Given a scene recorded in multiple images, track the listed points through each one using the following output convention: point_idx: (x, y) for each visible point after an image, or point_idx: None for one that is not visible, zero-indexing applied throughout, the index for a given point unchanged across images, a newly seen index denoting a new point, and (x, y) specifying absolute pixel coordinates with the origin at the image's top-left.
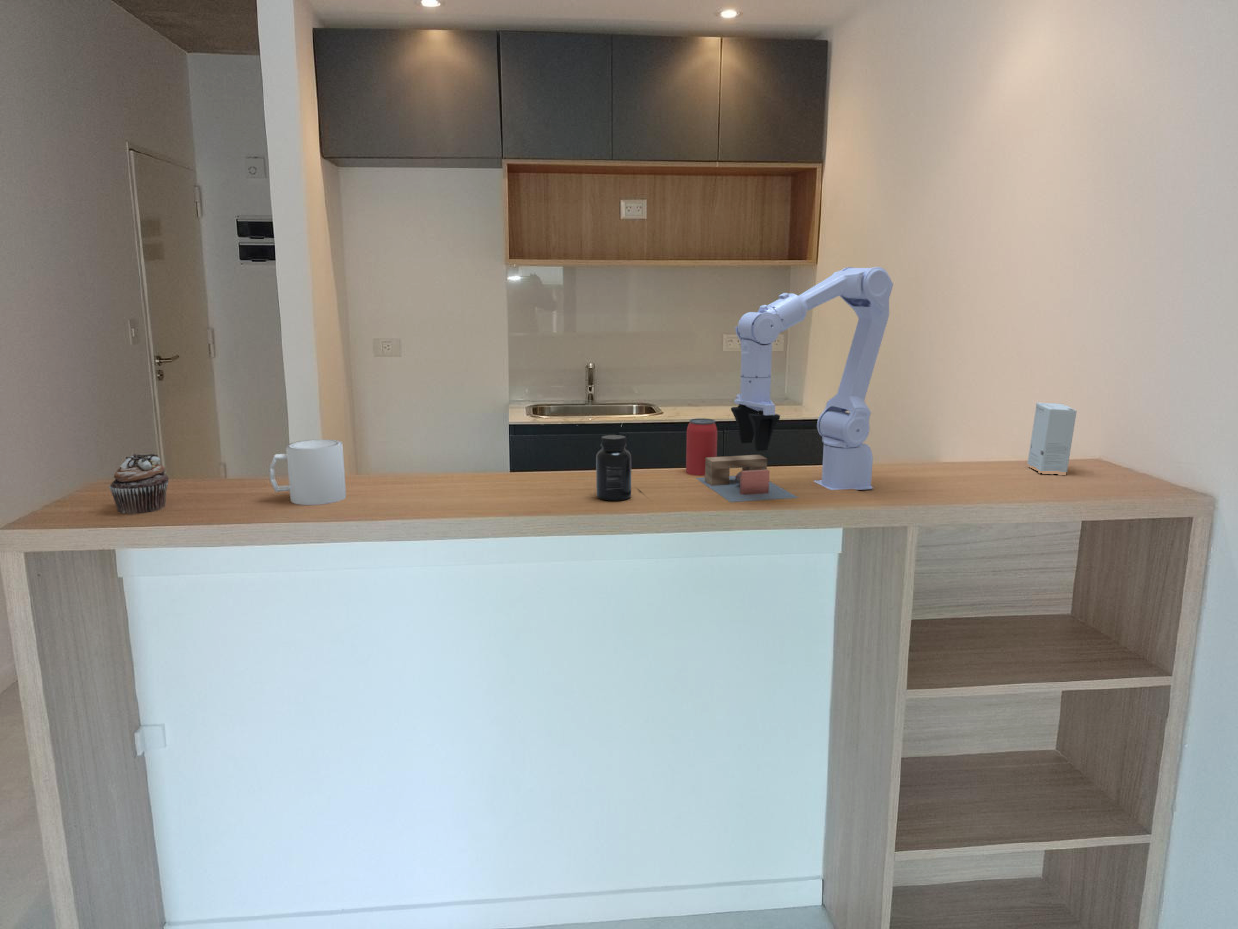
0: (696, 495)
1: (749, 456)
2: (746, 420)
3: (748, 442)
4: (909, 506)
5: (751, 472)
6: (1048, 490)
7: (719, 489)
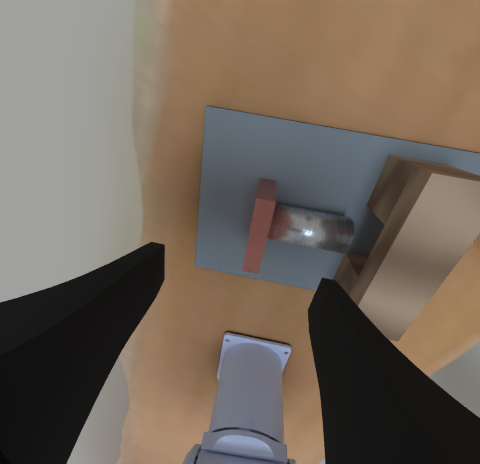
0: (347, 60)
1: (399, 312)
2: (346, 403)
3: (312, 300)
4: (127, 355)
5: (251, 223)
6: (161, 457)
7: (336, 151)
